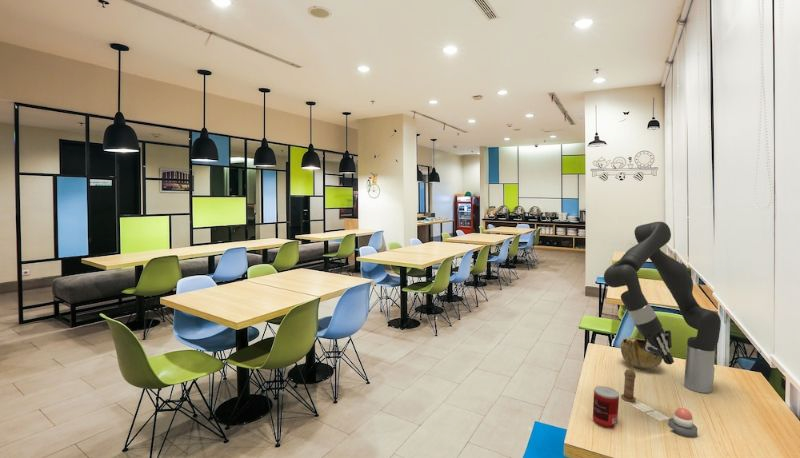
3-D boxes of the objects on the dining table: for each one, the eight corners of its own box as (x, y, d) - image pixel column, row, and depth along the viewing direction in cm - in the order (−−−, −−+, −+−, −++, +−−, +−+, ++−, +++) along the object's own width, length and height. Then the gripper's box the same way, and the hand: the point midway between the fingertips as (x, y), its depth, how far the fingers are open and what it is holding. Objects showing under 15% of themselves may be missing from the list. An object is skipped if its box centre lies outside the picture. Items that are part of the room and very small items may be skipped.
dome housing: (678, 422, 139) (679, 416, 139) (702, 435, 132) (703, 429, 132) (662, 425, 137) (662, 420, 137) (685, 439, 129) (686, 433, 129)
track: (628, 396, 157) (628, 393, 157) (674, 421, 140) (674, 418, 140) (613, 399, 154) (613, 396, 154) (657, 425, 137) (658, 422, 137)
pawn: (627, 395, 156) (629, 366, 155) (639, 401, 151) (641, 371, 150) (617, 397, 154) (619, 368, 153) (629, 403, 150) (631, 373, 149)
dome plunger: (680, 417, 137) (681, 403, 137) (696, 426, 133) (697, 411, 132) (669, 420, 136) (670, 406, 135) (685, 428, 131) (686, 414, 130)
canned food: (615, 418, 141) (617, 387, 140) (619, 430, 134) (621, 398, 133) (591, 413, 144) (592, 384, 143) (593, 425, 136) (595, 394, 135)
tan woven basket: (646, 379, 173) (649, 345, 172) (608, 364, 187) (610, 333, 186) (672, 368, 184) (674, 336, 183) (634, 355, 199) (636, 326, 198)
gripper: (646, 309, 146) (671, 353, 145) (623, 327, 141) (649, 372, 140) (665, 308, 139) (691, 353, 138) (642, 327, 134) (669, 374, 133)
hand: (670, 363), depth 139 cm, fingers closed
